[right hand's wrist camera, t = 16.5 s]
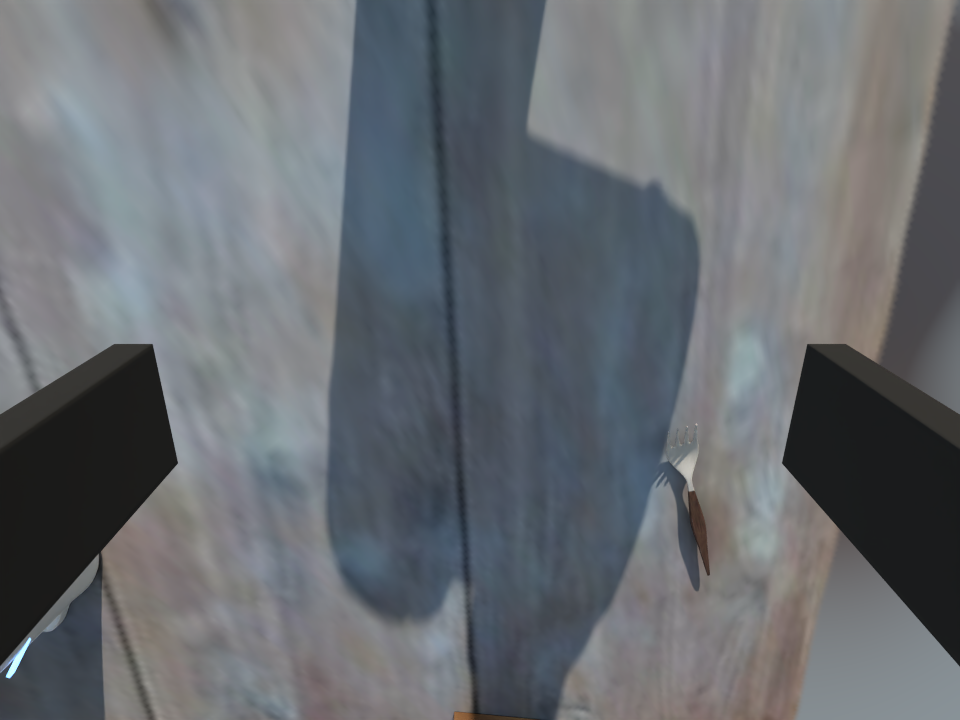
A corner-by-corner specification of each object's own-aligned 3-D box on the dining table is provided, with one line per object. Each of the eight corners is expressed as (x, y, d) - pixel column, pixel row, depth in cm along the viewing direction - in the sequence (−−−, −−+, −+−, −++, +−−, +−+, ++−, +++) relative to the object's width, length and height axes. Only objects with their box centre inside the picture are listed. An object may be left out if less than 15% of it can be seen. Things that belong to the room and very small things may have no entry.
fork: (691, 574, 53) (699, 591, 52) (658, 420, 48) (665, 432, 46) (721, 567, 53) (729, 584, 51) (691, 411, 48) (699, 423, 46)
